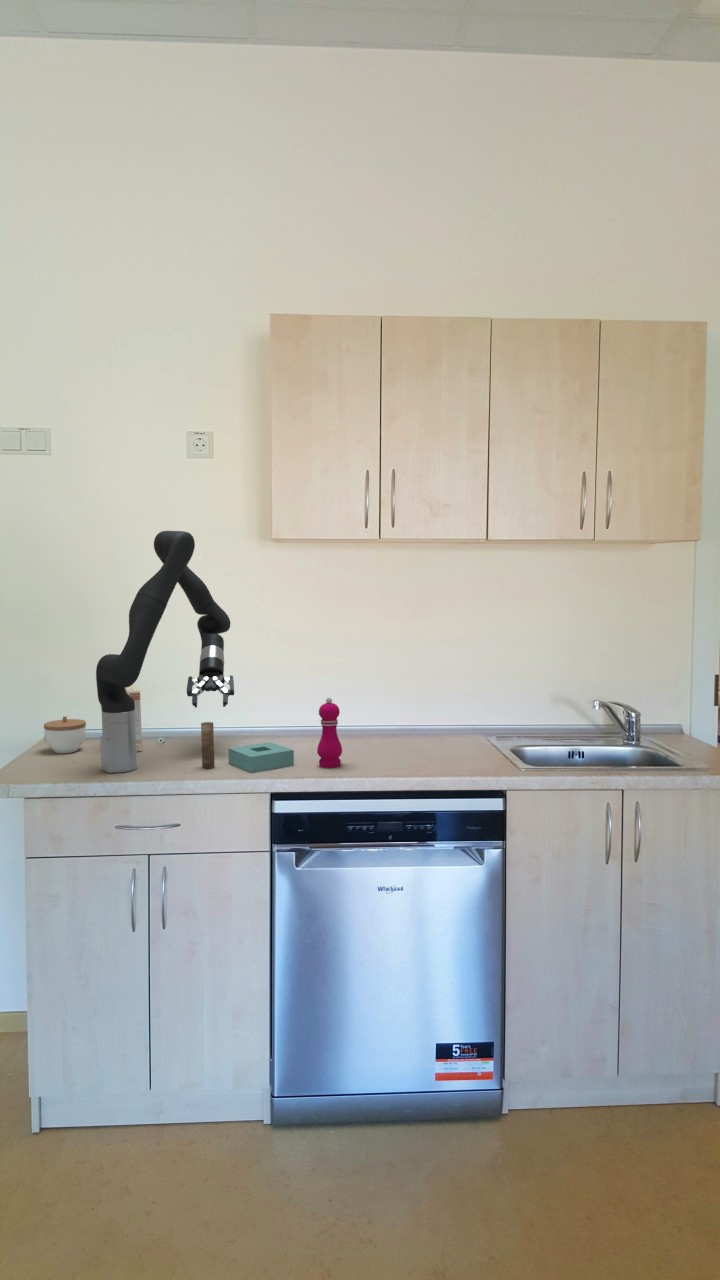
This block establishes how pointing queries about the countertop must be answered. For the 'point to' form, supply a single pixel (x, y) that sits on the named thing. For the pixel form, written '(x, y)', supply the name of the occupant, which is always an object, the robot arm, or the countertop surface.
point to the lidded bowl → (65, 734)
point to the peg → (207, 745)
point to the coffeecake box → (136, 714)
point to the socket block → (261, 756)
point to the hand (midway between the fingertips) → (209, 705)
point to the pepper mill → (329, 736)
